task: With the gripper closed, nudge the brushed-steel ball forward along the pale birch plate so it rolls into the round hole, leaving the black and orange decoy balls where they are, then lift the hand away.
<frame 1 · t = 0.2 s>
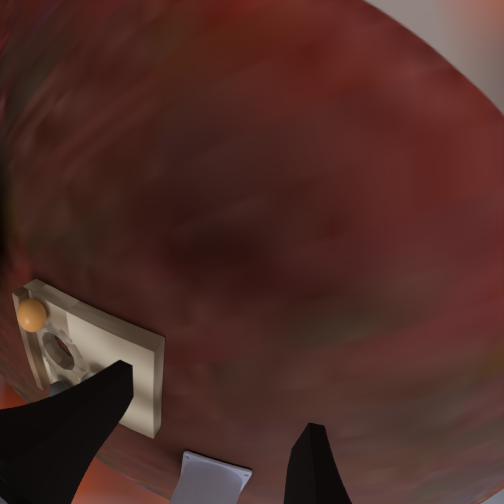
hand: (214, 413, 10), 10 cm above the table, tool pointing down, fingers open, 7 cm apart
bearing plate: (95, 358, 25), on the table
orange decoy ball: (31, 315, 21), point 3 cm above the table, touching bearing plate
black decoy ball: (61, 394, 24), point 3 cm above the table, touching bearing plate
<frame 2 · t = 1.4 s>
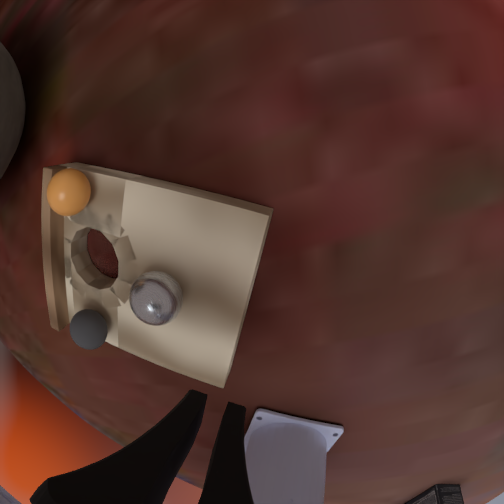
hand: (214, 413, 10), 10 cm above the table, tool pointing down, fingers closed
bearing plate: (147, 270, 21), on the table
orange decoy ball: (68, 192, 16), point 3 cm above the table, touching bearing plate
small box: (423, 499, 27), on the table
steel ball: (155, 298, 17), point 4 cm above the table, touching bearing plate
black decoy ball: (88, 329, 19), point 3 cm above the table, touching bearing plate
bowl: (10, 119, 19), on the table
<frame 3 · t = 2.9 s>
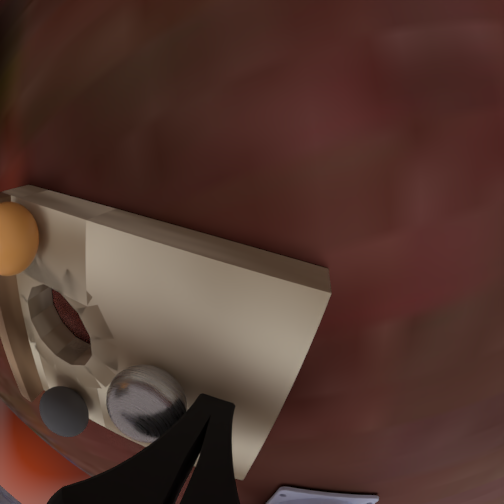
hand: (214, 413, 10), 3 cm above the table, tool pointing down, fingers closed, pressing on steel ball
bearing plate: (133, 341, 14), on the table
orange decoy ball: (7, 238, 9), point 3 cm above the table, touching bearing plate
steel ball: (146, 404, 10), point 4 cm above the table, touching bearing plate, gripper
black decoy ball: (63, 411, 12), point 3 cm above the table, touching bearing plate
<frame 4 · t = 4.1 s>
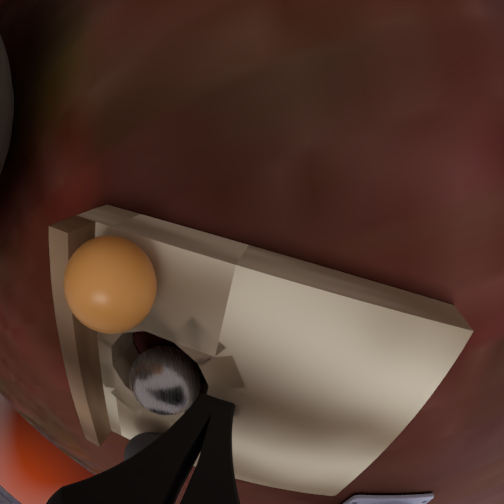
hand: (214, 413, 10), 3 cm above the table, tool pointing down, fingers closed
bearing plate: (243, 380, 13), on the table
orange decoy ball: (109, 284, 8), point 3 cm above the table, touching bearing plate
steel ball: (164, 380, 12), point 2 cm above the table, tilted 124°
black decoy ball: (153, 458, 12), point 3 cm above the table, touching bearing plate
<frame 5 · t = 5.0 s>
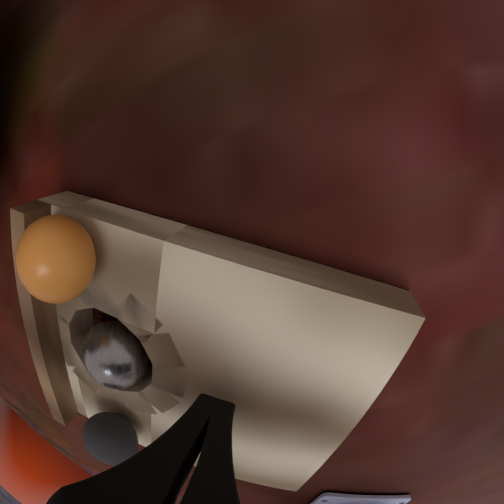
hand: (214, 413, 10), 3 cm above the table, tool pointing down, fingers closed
bearing plate: (193, 364, 13), on the table
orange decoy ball: (55, 259, 9), point 3 cm above the table, touching bearing plate
steel ball: (114, 354, 12), point 2 cm above the table, tilted 119°
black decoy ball: (110, 438, 12), point 3 cm above the table, touching bearing plate
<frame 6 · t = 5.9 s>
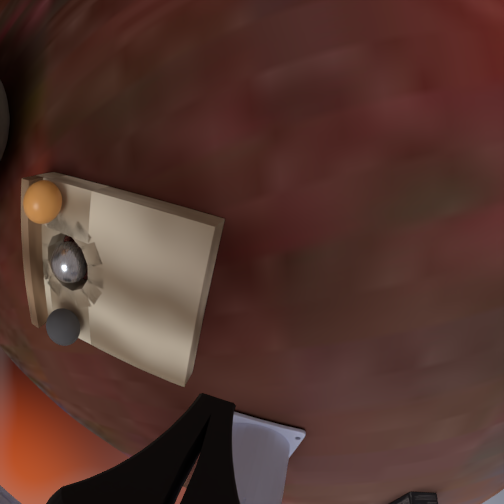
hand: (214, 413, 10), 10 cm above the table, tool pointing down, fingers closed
bearing plate: (115, 273, 21), on the table
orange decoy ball: (42, 202, 17), point 3 cm above the table, touching bearing plate
steel ball: (69, 262, 20), point 2 cm above the table, tilted 113°
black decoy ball: (63, 326, 20), point 3 cm above the table, touching bearing plate
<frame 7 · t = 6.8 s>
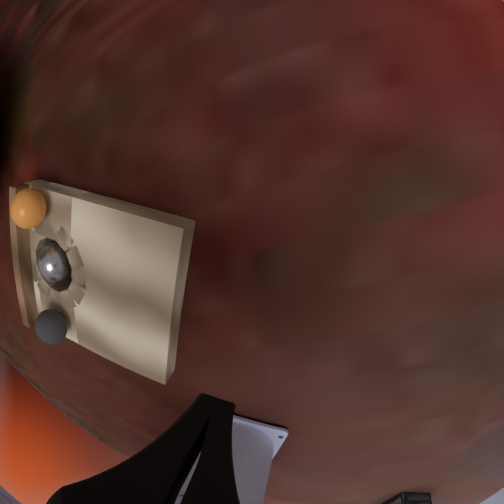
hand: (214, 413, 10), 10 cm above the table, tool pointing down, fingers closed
bearing plate: (98, 275, 22), on the table
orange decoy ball: (28, 208, 17), point 3 cm above the table, touching bearing plate
steel ball: (54, 262, 20), point 2 cm above the table, tilted 107°
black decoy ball: (51, 326, 20), point 3 cm above the table, touching bearing plate
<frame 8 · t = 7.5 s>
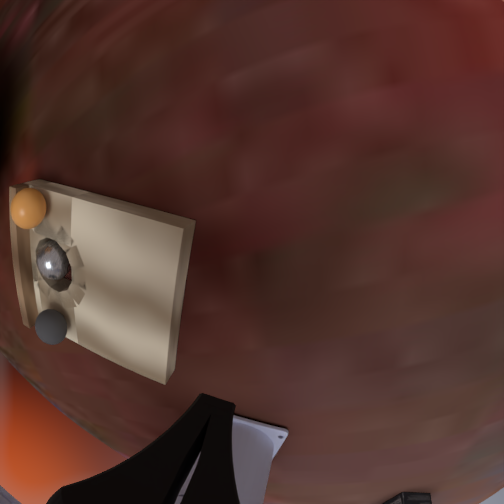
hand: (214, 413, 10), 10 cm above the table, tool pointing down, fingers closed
bearing plate: (98, 275, 22), on the table
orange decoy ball: (28, 208, 17), point 3 cm above the table, touching bearing plate
steel ball: (53, 259, 20), point 2 cm above the table, tilted 102°
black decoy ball: (51, 326, 20), point 3 cm above the table, touching bearing plate
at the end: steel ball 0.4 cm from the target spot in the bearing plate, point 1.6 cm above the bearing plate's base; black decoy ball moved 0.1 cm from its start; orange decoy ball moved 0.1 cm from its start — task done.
